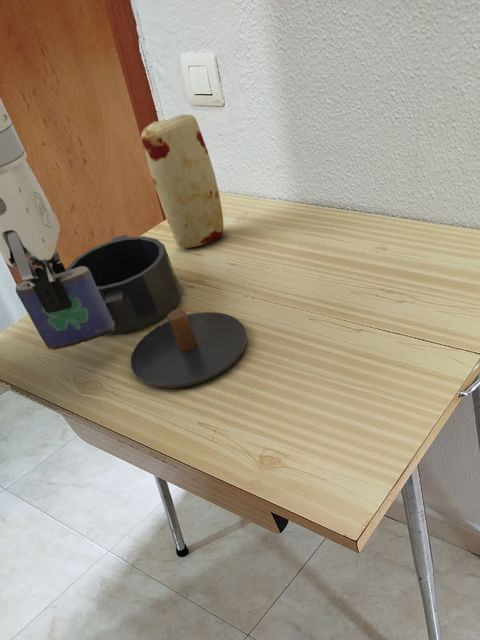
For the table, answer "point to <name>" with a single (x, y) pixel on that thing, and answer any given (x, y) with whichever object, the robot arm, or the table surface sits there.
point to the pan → (133, 281)
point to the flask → (69, 311)
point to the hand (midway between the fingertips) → (60, 300)
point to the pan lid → (188, 349)
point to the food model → (184, 180)
